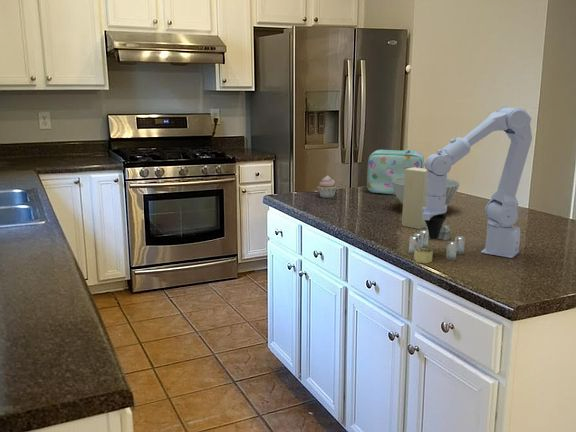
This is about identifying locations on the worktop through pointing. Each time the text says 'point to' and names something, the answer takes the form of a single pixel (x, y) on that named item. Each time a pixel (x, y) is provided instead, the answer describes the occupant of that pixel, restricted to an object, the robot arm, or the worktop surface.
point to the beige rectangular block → (414, 198)
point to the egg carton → (443, 233)
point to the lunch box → (390, 168)
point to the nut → (423, 255)
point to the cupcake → (327, 187)
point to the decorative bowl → (450, 188)
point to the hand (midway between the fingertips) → (433, 238)
